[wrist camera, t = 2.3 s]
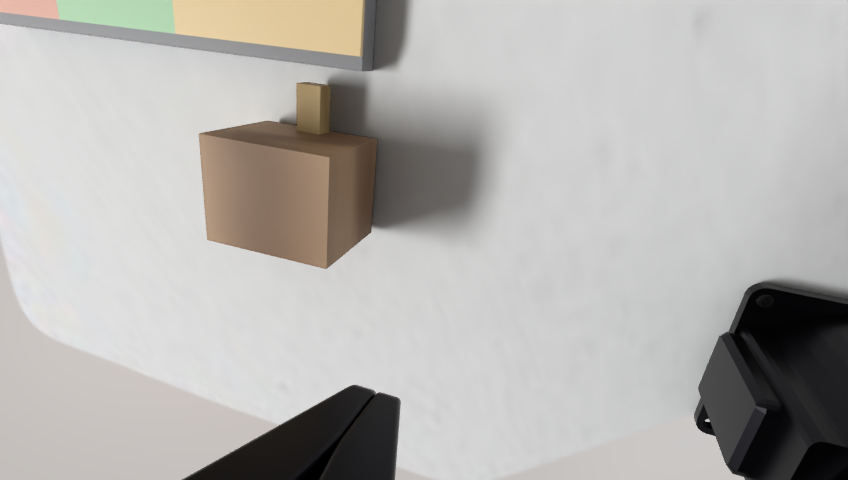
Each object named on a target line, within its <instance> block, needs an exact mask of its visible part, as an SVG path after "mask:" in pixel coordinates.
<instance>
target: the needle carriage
mask: <svg viewBox="0 0 848 480" xmlns="http://www.w3.org/2000/svg"><path fill="white" fill-rule="evenodd" d="M330 87H331V85H324V84H317V83H310V82H303V83H297V126H296V125H290V124H284V123H278V122H272V121H263V122H258V123H252V124H247V125H242V126H237V127H231V128H226V129H221V130H215V131H210V132H205V133H200V134H199V143H200V155H201V167H202V180H203V192H204V205H205V217H206V229H207V240H210V241H214V242H218V243H222V244H226V245H230V246H235V247H239V248H243V249H247V250H251V251H255V252H259V253H263V254H267V255H271V256H275V257H280V258H284V259H288V260H292V261H296V262H300V263H304V264H308V265H312V266H316V267H321V268H325V269H327V268H328V267H329V266H331V265H332V264H333V263H334V262H335V261H337V260H338V259H339V258H340V257H342V256H343V255H344V254H345V253H346V252H348V251H349V250H350V249H351V248H352V247H354V246H355V245H356V244H357V243H359V242H360V241H361V240H362V239H363V238H365V237H366V236H367V235H368V234H369V233H371V226H372V211H373V196H374V180H375V165H376V150H377V139H374V138H368V137H362V136H356V135H350V134H344V133H338V132H332V131H329V125H330Z"/></svg>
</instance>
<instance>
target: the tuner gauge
mask: <svg viewBox="0 0 848 480" xmlns="http://www.w3.org/2000/svg"><path fill="white" fill-rule="evenodd" d="M375 17H376V0H0V24H6V25H13V26H21V27H29V28H36V29H44V30H51V31H59V32H67V33H74V34H82V35H89V36H97V37H105V38H112V39H120V40H127V41H135V42H143V43H150V44H158V45H165V46H173V47H181V48H188V49H196V50H204V51H211V52H219V53H226V54H234V55H242V56H249V57H257V58H264V59H272V60H280V61H287V62H295V63H302V64H310V65H318V66H325V67H333V68H340V69H348V70H356V71H372V69H373V52H374V35H375Z"/></svg>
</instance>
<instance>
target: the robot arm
mask: <svg viewBox="0 0 848 480" xmlns="http://www.w3.org/2000/svg"><path fill="white" fill-rule="evenodd" d="M761 295H769V299H768V300H767V301H765V302H756V300H757V298H758V297H759V296H761ZM698 390H699V393H700V395H701V399H700V401H699V404H698V406H697V408H696V411H695V413H694V419H695V422H696V425H697V427H698V429H700V430H701V431H702V432H704V433H706V434H710V435H714V436H716V439H717V441H718V444H719V447H720V450H721V452H722V455H723V458H724V460H725V463H726V465H727V466H728V468H729V469H730V471H731V472H732V473H733V474H736V475H739V476H743V477H744V478H745V480H848V300H846V299H841V298H836V297H831V296H826V295H821V294H816V293H811V292H806V291H801V290H796V289H791V288H786V287H781V286H777V285H772V284H767V283H759V284H755V285H752V286H751V287H749V288H748V289H747V291H746V292H745V294H744V297H743V299H742V301H741V304H740V306H739V309H738V311H737V313H736V316H735V318H734V320H733V323H732V325H731V328H730V330H729V332H726V333H724V334H723V335H721V336H719V338H718V341H717V343H716V346H715V348H714V351H713V353H712V355H711V358H710V360H709V363H708V365H707V367H706V370H705V372H704V375H703V377H702V380H701V382H700V384H699V387H698ZM400 404H401V401H400V399H399V398H398V397H394V396H391V395H388V394H385V393H381V392H379V393H377V394H376V392H375V391H374V390H371V389H368V388H365V387H361V386H358V385H352V386H349V387H347V388H345V389H344V390H342V391H340V392H338V393H336V394H335V395H333V396H331V397H329V398H327V399H326V400H324V401H322V402H320V403H319V404H317V405H315V406H313V407H311V408H310V409H308V410H306V411H304V412H302V413H301V414H299V415H297V416H295V417H293V418H292V419H290V420H288V421H286V422H284V423H283V424H281V425H279V426H277V427H276V428H274V429H272V430H270V431H268V432H267V433H265V434H263V435H261V436H259V437H258V438H256V439H254V440H252V441H250V442H249V443H247V444H245V445H244V446H242V447H240V448H238V449H236V450H234V451H233V452H231V453H229V454H227V455H226V456H224V457H222V458H220V459H218V460H216V461H215V462H213V463H211V464H209V465H207V466H206V467H204V468H202V469H200V470H198V471H197V472H195V473H193V474H191V475H190V476H188V477H186V478H184V479H182V480H395V470H396V457H397V444H398V431H399V417H400ZM706 419H709V420H710V422H705V420H706Z"/></svg>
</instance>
